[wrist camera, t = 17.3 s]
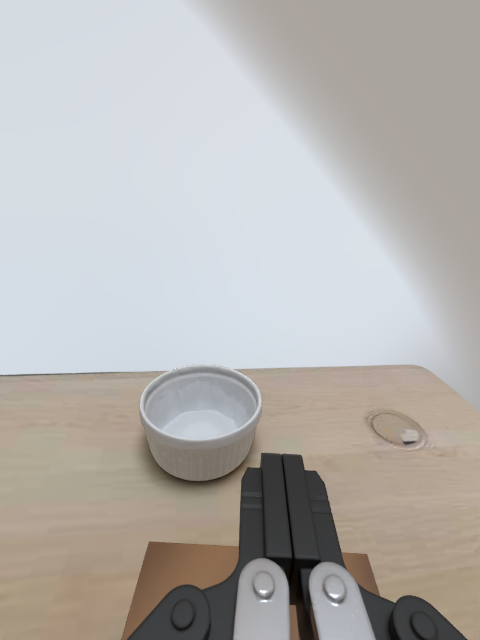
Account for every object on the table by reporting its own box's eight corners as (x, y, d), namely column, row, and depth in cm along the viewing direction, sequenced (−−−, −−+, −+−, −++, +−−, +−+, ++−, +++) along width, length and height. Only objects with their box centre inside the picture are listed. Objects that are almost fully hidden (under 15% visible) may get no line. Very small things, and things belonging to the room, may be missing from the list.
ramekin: (257, 409, 43) (261, 366, 40) (259, 498, 31) (264, 445, 28) (161, 404, 43) (158, 360, 40) (126, 490, 31) (118, 436, 28)
